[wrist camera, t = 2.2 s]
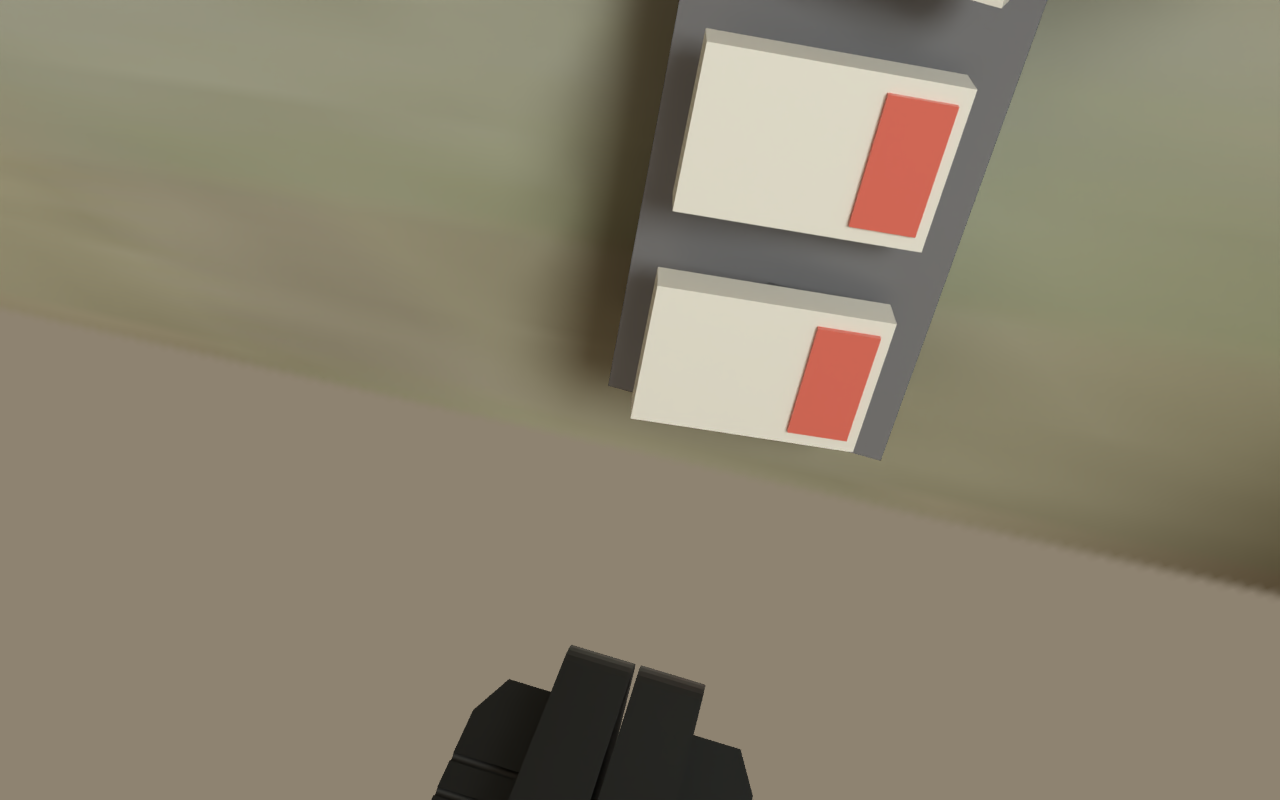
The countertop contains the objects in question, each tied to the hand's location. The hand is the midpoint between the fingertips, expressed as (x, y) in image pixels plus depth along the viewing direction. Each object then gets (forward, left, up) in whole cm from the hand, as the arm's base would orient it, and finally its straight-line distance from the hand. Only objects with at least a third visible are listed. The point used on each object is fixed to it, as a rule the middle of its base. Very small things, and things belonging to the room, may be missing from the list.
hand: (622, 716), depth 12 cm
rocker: (0, +5, -17) cm, 18 cm away
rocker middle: (0, -1, -17) cm, 17 cm away
